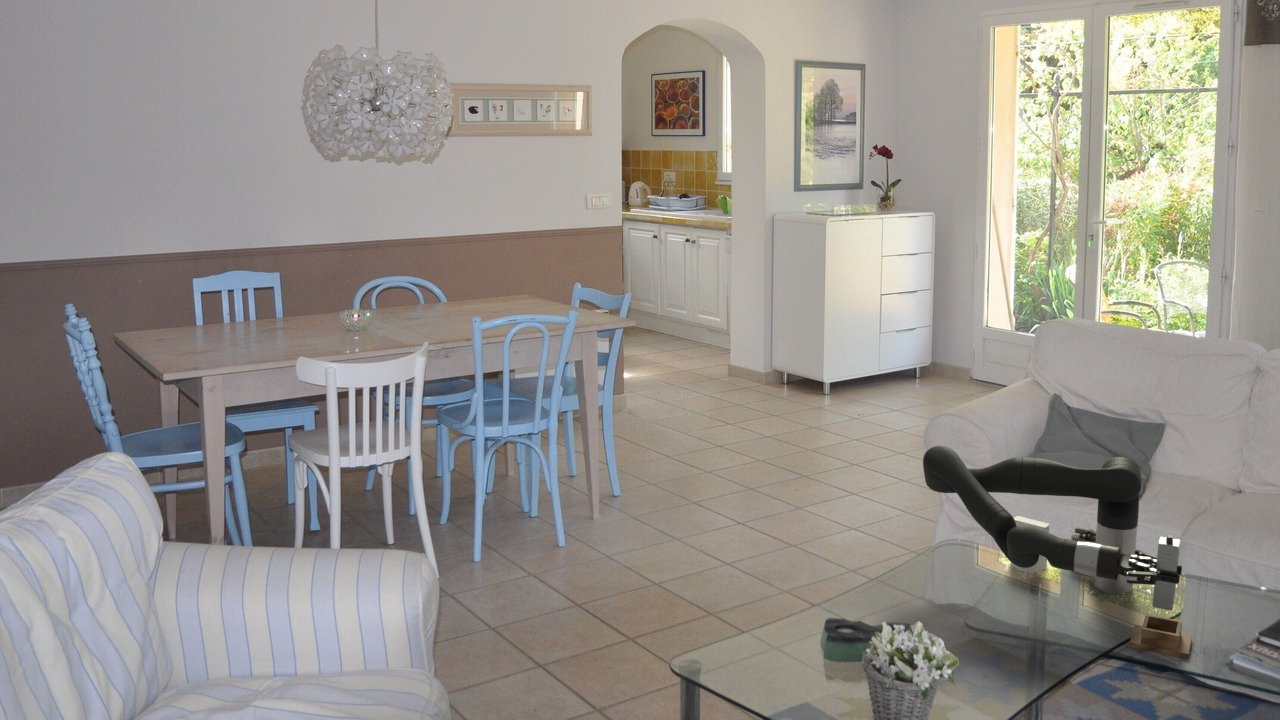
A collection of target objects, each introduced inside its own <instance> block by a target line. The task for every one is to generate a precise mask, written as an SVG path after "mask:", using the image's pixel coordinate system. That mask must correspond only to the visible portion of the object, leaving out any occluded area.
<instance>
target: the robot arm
mask: <svg viewBox="0 0 1280 720" xmlns="http://www.w3.org/2000/svg"><path fill="white" fill-rule="evenodd" d="M922 465H923V466H922V467H923V468H922V469H923V475H924V480H925V484H926V486H927V487H928V488H929V489H930V490H932V491H933V492H936V493H942V494H957V495H958V497H959V498H960V500H961V502H962V503H963V504H964V506H965V508H966V509H967V511H968V513H969V514H970V515H971V517H972V518H973V519H974V520H975V521H976V523H977V524H978V525H979V526H980V527H981V528H982V529H983V530H984V531H985V532H986V533H987V534H988V535H989V536H991V537H992V539H993V540H994V542H995V543H996V545H997V546H998V548H999V549H1000V551H1001V552H1002V553H1003V555H1004V556H1005V557H1006V559H1007V560H1008V561H1010V563H1011V562H1012V563H1013V564H1014V565H1016V566H1018V567H1022V568H1029V567H1032V566H1034V565H1035V564H1036V563H1037V561H1038V559H1039V555H1041V556H1043V557H1045V558H1046V559H1047V563H1049V565H1050V566H1051V567H1053V568H1056V569H1059V570H1065V571H1071V572H1076V573H1080V574H1082V575H1086V576H1089V580H1088V581H1089V583H1091V584H1092V586H1093V588H1095V589H1096V590H1098V591H1099V592H1103V593H1106V594H1111V595H1124V594H1123V593H1126V594H1128V592H1129V593H1131V592H1132V591H1133V587H1134V584H1135V585H1148V586H1149V585H1153V586H1154V585H1155V584H1156V582H1160V581H1164V582H1170V583H1175V584H1176V585H1178V584H1179V583H1180V579H1181V575H1182V569H1183V566H1182V565H1181V564H1178V569H1177V573H1173V572H1167V571H1160V570H1157V569H1156V564H1157V555H1156V554H1152V553H1149V552H1146V551H1142V550H1139V549H1136V548H1137V536H1138V535H1137V534H1138V525H1139V510H1140V508H1139V507H1140V493H1141V489H1142V473H1141V469H1140V468H1139V466H1138V465H1137V464H1136V462H1134V460H1133V459H1130V458H1128V457H1124V456H1115V457H1111V458H1110V459H1108V460H1107V461H1105V463H1104V464H1103V465H1102V467H1101V468H1080V467H1075V466H1072V465H1071V466H1070V465H1067V464H1066V463H1065V464H1064V463H1061V462H1058V461H1055V460H1051V459H1048V458H1047V459H1046V458H1040V457H1024V456H1023V457H1022V456H1021V457H1018V456H1016V457H1011V458H1007V459H1005V460H1002V461H1000V462H997V463H995V464H992V465H989V466H987V467H981V468H968V467H967V466H966V464H965V463H964V462H963V460H962V459H961V458H960V456H959V455H958V453H957V452H956V451H955V450H954V449H952V448H951V447H948V446H946V445H935V446H933V447H930V448H928V450H926V451H925V453H924V454H923V458H922ZM990 493H993V494H994V493H995V494H996V493H1000V494H1002V493H1003V494H1014V495H1015V494H1016V495H1030V496H1031V495H1032V496H1053V497H1054V496H1055V497H1077V498H1088V499H1092V500H1093V499H1094V500H1097V513H1096V514H1097V515H1096V516H1097V517H1096V528H1095V529H1096V530H1095V531H1096V543H1093V542H1083V541H1075V540H1072V539H1069V538H1061V537H1059V536H1055V535H1054V534H1052V533H1050V532H1049V533H1047V532H1045V531H1042V530H1040V529H1037V528H1034V527H1030V526H1017V525H1016V523H1015V520H1014V518H1015V517H1013V515H1012V514H1011V513H1010V512H1009V511H1008V510H1007V509H1006V508H1005V507H1004V506H1003V505H1001V503H999V502H998V501H997V500H996V499H995V498H994V497H993V496H992V495H991V494H990ZM1130 591H1131V592H1130Z"/></svg>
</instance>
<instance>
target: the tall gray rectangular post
mask: <svg viewBox="0 0 1280 720" xmlns="http://www.w3.org/2000/svg"><path fill="white" fill-rule="evenodd" d="M1180 547H1181V539H1178V538H1174V535H1170V534H1167V535H1166V537H1165V536H1160V537H1159V541H1158V546H1157V555H1156V556H1157V564H1156V569H1157V570H1160V571H1167V572H1173V573H1177V569H1178V565H1179V559H1180V558H1179V556H1180ZM1176 585H1177V584H1175V583H1170V582H1164V581H1160V582H1156V584H1155V585H1153V586H1154V588H1153V596H1152V605H1151V606H1152V608H1156V609H1162V610H1165V611H1167V610H1168V611H1173V609H1174V605H1175V596H1176Z"/></svg>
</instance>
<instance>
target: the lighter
mask: <svg viewBox="0 0 1280 720" xmlns="http://www.w3.org/2000/svg"><path fill="white" fill-rule="evenodd" d="M1070 537H1071V539H1070V540H1075V541H1083V542H1093V543H1096V530H1094V529H1092V528H1088V529H1085V528H1081V527H1075V528H1074V534H1071V536H1070Z"/></svg>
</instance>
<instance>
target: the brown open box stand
mask: <svg viewBox="0 0 1280 720" xmlns="http://www.w3.org/2000/svg"><path fill="white" fill-rule="evenodd" d="M1182 626H1183V620H1179V619H1174V618H1168V617H1164V616H1158V615H1153V614H1147V613H1146V614H1145V615H1144V619H1143V623H1142V625H1140V624H1139V625H1138V624H1134V626H1133V629H1132V633H1131V636H1130V639H1129V643H1128V644H1129V645H1128V647H1129V648H1132V649H1137V650H1143V651H1147V652H1153V653H1158V654H1162V655H1167V656H1172V657H1176V658H1183V659H1187V660H1188V659H1189V657H1190V656H1189V655H1190V652H1191V645H1192V640H1193V635H1191V634H1185V633H1182V631H1183V630H1182V629H1183V627H1182Z"/></svg>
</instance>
